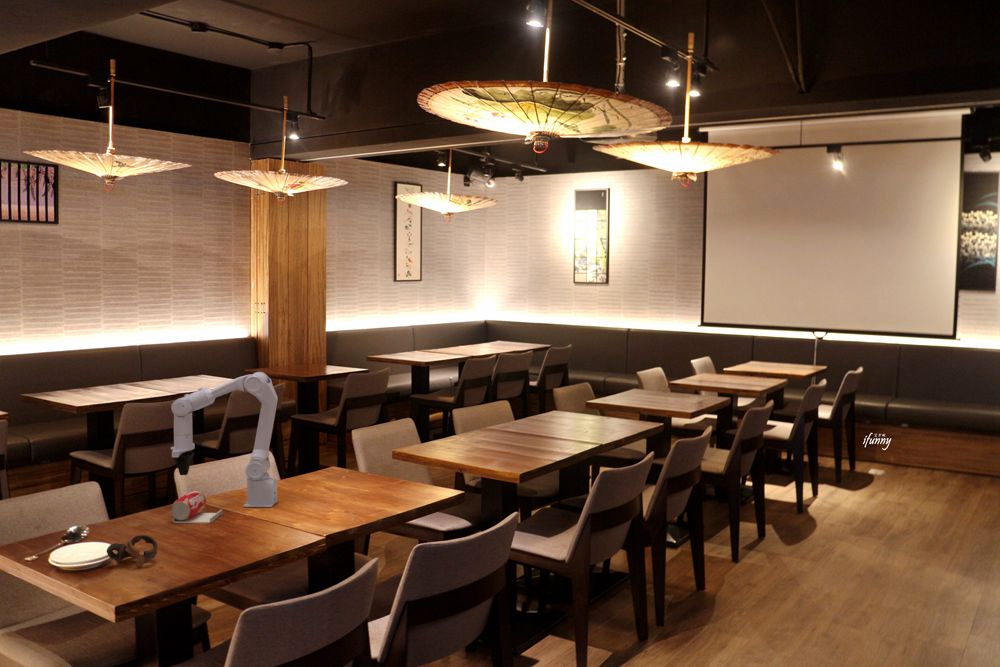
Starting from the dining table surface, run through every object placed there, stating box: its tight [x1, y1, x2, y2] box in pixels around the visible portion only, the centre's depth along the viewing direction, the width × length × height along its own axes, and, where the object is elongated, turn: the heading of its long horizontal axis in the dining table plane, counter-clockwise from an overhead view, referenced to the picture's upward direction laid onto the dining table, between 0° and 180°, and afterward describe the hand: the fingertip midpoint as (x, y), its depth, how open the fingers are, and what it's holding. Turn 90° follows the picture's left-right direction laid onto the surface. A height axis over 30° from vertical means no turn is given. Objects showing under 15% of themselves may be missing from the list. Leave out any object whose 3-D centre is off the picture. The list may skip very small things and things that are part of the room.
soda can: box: [170, 490, 207, 520], centre depth 252 cm, size 7×7×12 cm
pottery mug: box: [106, 534, 158, 569], centre depth 210 cm, size 12×10×8 cm
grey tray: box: [171, 509, 223, 524], centre depth 252 cm, size 12×10×2 cm
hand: (183, 474), depth 266 cm, fingers closed
